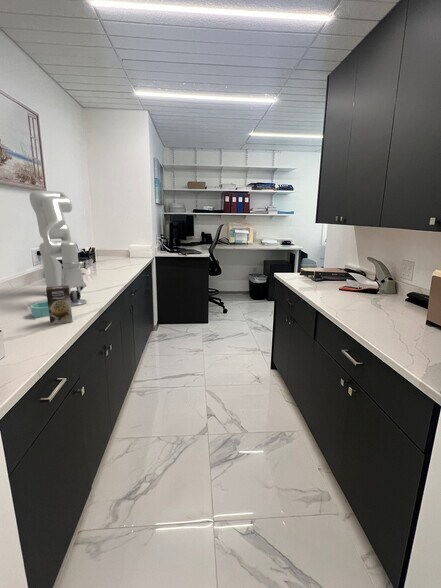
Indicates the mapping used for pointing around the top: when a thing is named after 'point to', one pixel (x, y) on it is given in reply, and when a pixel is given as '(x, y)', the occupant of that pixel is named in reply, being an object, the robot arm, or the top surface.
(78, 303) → the lid
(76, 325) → the top surface
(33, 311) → the bowl
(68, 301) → the coffee box
